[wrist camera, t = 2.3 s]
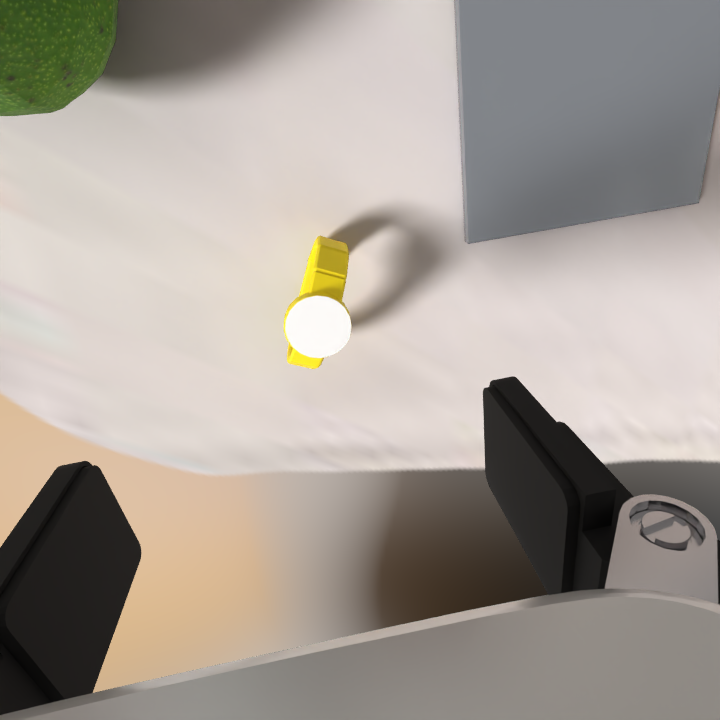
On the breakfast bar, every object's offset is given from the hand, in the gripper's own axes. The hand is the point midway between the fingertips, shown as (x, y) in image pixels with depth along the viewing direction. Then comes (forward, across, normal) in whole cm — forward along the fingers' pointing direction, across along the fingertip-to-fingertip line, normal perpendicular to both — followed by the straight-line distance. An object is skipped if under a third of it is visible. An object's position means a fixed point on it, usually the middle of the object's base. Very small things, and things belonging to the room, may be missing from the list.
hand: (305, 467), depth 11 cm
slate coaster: (+14, -15, -7) cm, 21 cm away
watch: (+14, -1, 0) cm, 15 cm away
